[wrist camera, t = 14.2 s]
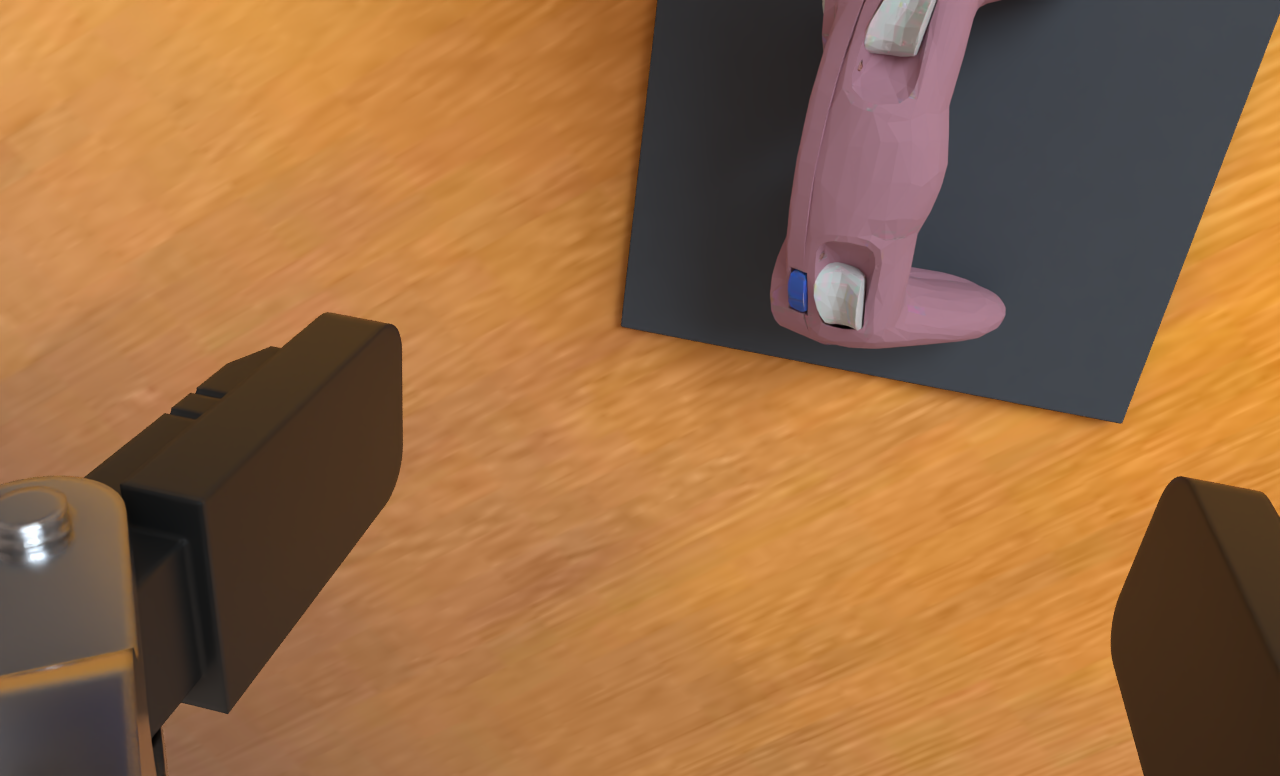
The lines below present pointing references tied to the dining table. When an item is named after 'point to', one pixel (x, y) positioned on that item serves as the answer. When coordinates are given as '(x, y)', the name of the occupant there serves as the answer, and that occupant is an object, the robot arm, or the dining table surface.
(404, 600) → the dining table surface
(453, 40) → the dining table surface
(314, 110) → the dining table surface
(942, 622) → the dining table surface
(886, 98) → the video game controller
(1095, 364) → the felt mat
